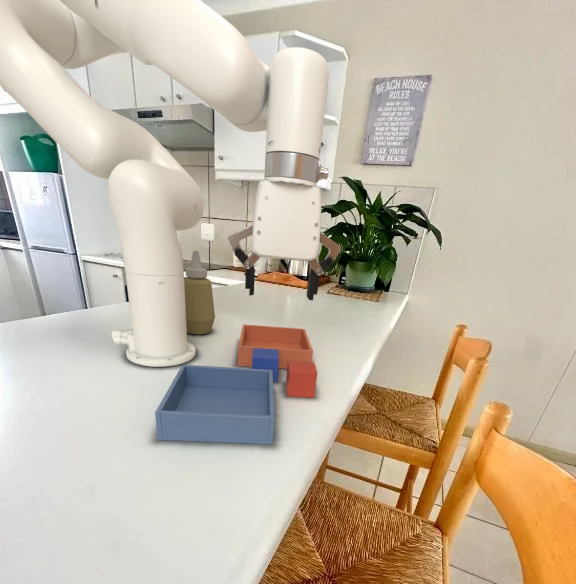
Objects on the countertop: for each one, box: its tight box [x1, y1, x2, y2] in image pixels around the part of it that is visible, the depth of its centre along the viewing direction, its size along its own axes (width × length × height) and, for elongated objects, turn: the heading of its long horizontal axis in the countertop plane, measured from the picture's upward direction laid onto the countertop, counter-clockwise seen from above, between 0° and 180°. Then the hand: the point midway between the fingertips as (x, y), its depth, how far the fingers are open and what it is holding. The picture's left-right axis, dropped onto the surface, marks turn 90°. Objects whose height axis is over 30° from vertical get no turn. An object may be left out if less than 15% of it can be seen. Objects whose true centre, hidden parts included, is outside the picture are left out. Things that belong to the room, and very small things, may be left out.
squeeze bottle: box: [184, 250, 216, 335], centre depth 74 cm, size 8×8×18 cm
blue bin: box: [154, 364, 276, 445], centre depth 46 cm, size 14×14×4 cm
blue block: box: [251, 348, 279, 383], centre depth 58 cm, size 4×4×4 cm
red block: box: [285, 361, 318, 399], centre depth 54 cm, size 4×4×4 cm
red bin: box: [237, 324, 314, 370], centre depth 68 cm, size 14×14×4 cm
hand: (280, 296), depth 53 cm, fingers open, 9 cm apart
